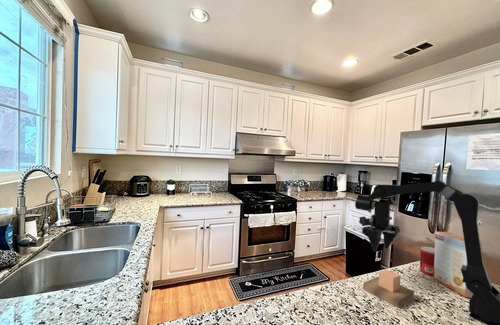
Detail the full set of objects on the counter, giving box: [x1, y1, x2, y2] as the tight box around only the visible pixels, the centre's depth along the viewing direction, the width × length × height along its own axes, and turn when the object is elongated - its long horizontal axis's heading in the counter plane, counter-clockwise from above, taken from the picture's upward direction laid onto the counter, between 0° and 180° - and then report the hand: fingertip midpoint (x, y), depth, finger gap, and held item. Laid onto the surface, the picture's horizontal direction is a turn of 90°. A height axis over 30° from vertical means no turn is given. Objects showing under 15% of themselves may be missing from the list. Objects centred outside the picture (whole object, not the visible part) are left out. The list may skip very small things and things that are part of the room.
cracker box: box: [433, 231, 483, 299], centre depth 86 cm, size 14×6×21 cm, turn 179°
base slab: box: [362, 275, 415, 309], centre depth 79 cm, size 12×12×3 cm
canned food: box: [419, 246, 435, 278], centre depth 97 cm, size 8×8×11 cm
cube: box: [378, 269, 401, 292], centre depth 79 cm, size 5×5×5 cm
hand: (380, 249), depth 90 cm, fingers open, 9 cm apart
